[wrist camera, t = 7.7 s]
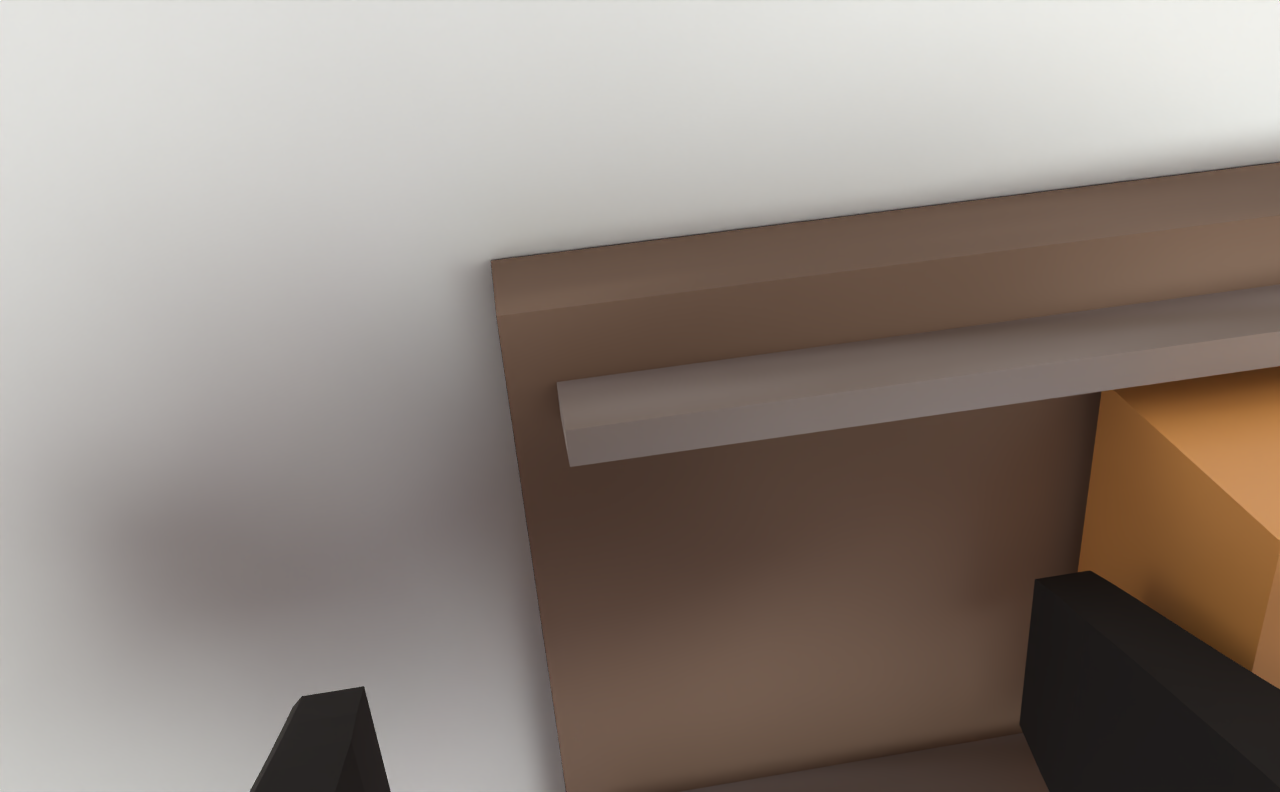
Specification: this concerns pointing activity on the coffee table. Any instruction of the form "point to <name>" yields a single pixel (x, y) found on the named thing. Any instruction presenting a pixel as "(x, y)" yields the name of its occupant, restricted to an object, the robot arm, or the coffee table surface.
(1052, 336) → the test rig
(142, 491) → the coffee table surface
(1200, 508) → the orange slider
